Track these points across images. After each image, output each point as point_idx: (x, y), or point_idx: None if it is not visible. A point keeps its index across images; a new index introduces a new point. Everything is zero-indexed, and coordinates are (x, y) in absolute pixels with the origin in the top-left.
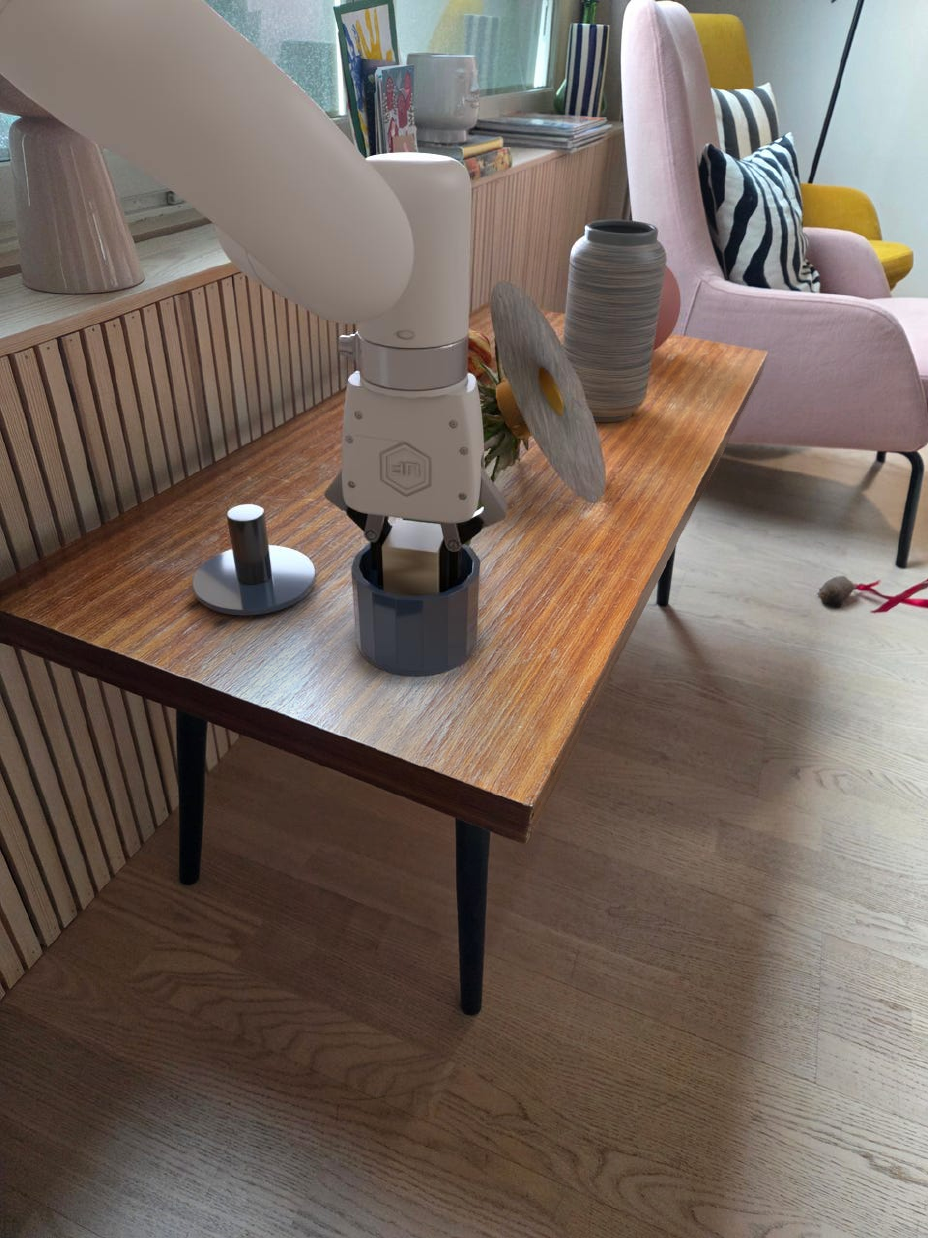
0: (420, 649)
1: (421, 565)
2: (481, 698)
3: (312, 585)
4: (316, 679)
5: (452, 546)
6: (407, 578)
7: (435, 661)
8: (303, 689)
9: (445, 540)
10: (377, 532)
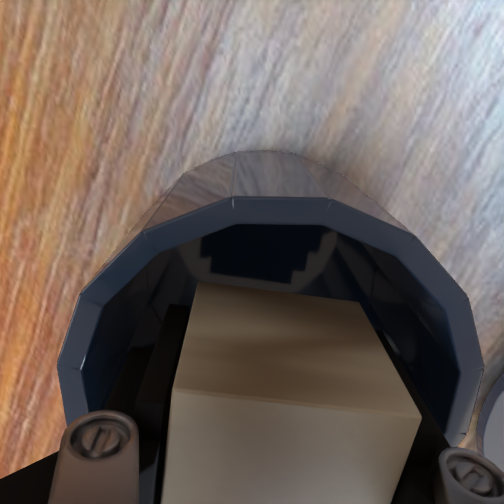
0: (241, 160)
1: (246, 353)
2: (99, 84)
3: (485, 408)
4: (468, 125)
5: (110, 434)
6: (294, 324)
7: (207, 165)
8: (496, 88)
9: (133, 455)
10: (456, 488)
